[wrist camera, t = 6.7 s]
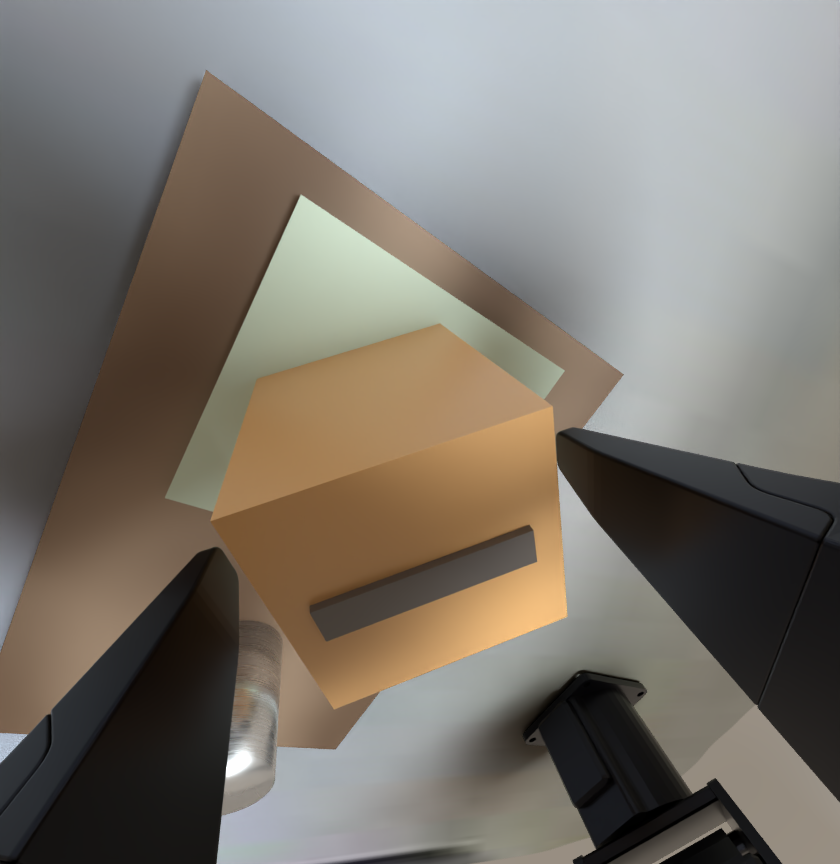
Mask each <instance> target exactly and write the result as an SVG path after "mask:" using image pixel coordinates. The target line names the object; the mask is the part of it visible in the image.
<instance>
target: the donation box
mask: <svg viewBox="0 0 840 864" xmlns="http://www.w3.org/2000/svg"><path fill="white" fill-rule="evenodd" d="M210 522H211V523H212V525H213V526H214V528H215V529H216V531H217V532H218V534H219V536H220V537H221V539H222V540H223V542H224V543H225V545H226V546H227V548H228V549H229V551H230V552H231V554H232V555H233V557H234V558H235V560H236V561H237V563H238V564H239V566H240V567H241V569H242V570H243V572H244V574H245V575H246V577H247V578H248V580H249V581H250V583H251V584H252V586H253V587H254V589H255V590H256V592H257V593H258V595H259V596H260V598H261V599H262V601H263V602H264V604H265V605H266V607H267V608H268V610H269V612H270V613H271V615H272V616H273V618H274V619H275V621H276V622H277V624H278V625H279V627H280V628H281V630H282V631H283V633H284V634H285V636H286V637H287V639H288V640H289V642H290V643H291V645H292V646H293V648H294V649H295V651H296V653H297V654H298V656H299V657H300V659H301V660H302V662H303V663H304V665H305V666H306V668H307V669H308V671H309V672H310V674H311V675H312V677H313V678H314V680H315V681H316V683H317V684H318V686H319V687H320V689H321V691H322V692H323V694H324V695H325V697H326V698H327V700H328V701H329V703H330V704H331V706H332V707H333V709H337V708H339V707H342V706H344V705H347V704H349V703H352V702H354V701H357V700H359V699H362V698H364V697H367V696H370V695H372V694H375V693H377V692H380V691H382V690H385V689H387V688H390V687H392V686H395V685H397V684H400V683H402V682H405V681H407V680H410V679H412V678H415V677H417V676H420V675H422V674H425V673H427V672H430V671H432V670H435V669H437V668H440V667H442V666H445V665H447V664H450V663H452V662H455V661H457V660H460V659H462V658H465V657H467V656H470V655H472V654H475V653H477V652H480V651H483V650H485V649H488V648H490V647H493V646H495V645H498V644H500V643H503V642H505V641H508V640H510V639H513V638H515V637H518V636H520V635H523V634H525V633H528V632H530V631H533V630H535V629H538V628H540V627H543V626H545V625H548V624H550V623H553V622H555V621H558V620H560V619H563V618H565V617H567V604H566V589H565V575H564V561H563V546H562V532H561V517H560V503H559V489H558V474H557V460H556V445H555V431H554V417H553V406H552V405H551V404H549V403H548V402H547V401H545V400H544V399H542V398H541V397H540V396H538V395H537V394H536V393H534V392H533V391H532V390H530V389H529V388H527V387H526V386H525V385H523V384H522V383H521V382H519V381H518V380H517V379H515V378H514V377H512V376H511V375H510V374H508V373H507V372H506V371H504V370H503V369H502V368H500V367H499V366H497V365H496V364H495V363H493V362H492V361H491V360H489V359H488V358H487V357H485V356H484V355H482V354H481V353H480V352H478V351H477V350H476V349H474V348H473V347H472V346H470V345H469V344H467V343H466V342H465V341H463V340H462V339H461V338H459V337H458V336H456V335H455V334H454V333H452V332H451V331H450V330H448V329H447V328H446V327H444V326H443V325H441V324H440V323H439V324H436V325H433V326H430V327H426V328H423V329H420V330H416V331H413V332H410V333H406V334H403V335H400V336H397V337H393V338H390V339H387V340H383V341H380V342H377V343H373V344H370V345H367V346H363V347H360V348H357V349H354V350H350V351H347V352H344V353H340V354H337V355H334V356H330V357H327V358H324V359H321V360H317V361H314V362H311V363H307V364H304V365H301V366H297V367H294V368H291V369H287V370H284V371H281V372H278V373H274V374H271V375H268V376H264V377H261V378H258V379H257V380H256V383H255V386H254V389H253V392H252V395H251V398H250V402H249V405H248V408H247V411H246V414H245V417H244V420H243V423H242V426H241V429H240V432H239V435H238V438H237V441H236V444H235V447H234V450H233V453H232V456H231V459H230V462H229V465H228V468H227V471H226V474H225V478H224V481H223V484H222V487H221V490H220V493H219V496H218V499H217V502H216V505H215V508H214V511H213V514H212V517H211V520H210Z"/></svg>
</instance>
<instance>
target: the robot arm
mask: <svg viewBox="0 0 840 864" xmlns="http://www.w3.org/2000/svg"><path fill="white" fill-rule="evenodd" d="M556 454H557V463H558V466H559V469H560V470H561V472H562V473H563V475H564V476H565V478H566V479H567V481H568V482H569V484H570V485H571V486H572V488H573V489H574V491H575V492H576V494H577V495H578V497H579V498H580V500H581V501H582V502H583V504H584V505H585V507H586V508H587V510H588V511H589V512H590V514H591V515H592V517H593V518H594V519H595V520H596V522H597V523H598V524H599V525H600V526H601V528H602V529H603V530H604V531H605V532H606V533H607V535H608V536H609V537H610V538H611V539H612V540H613V541H614V543H615V544H616V545H617V546H618V547H619V548H620V549H621V551H622V552H623V553H624V554H625V555H626V556H627V558H628V559H629V560H630V561H631V562H632V563H633V564H634V566H635V567H636V568H637V569H638V570H639V571H640V572H641V574H642V575H643V576H644V577H645V578H646V579H647V581H648V582H649V583H650V584H651V585H652V586H653V587H654V589H655V590H656V591H657V592H658V593H659V594H660V596H661V597H662V598H663V599H664V600H665V601H666V602H667V604H668V605H669V606H670V607H671V608H672V609H673V610H674V612H675V613H676V614H677V615H678V616H679V617H680V619H681V620H682V621H683V622H684V623H685V624H686V625H687V627H688V628H689V629H690V630H691V631H692V632H693V634H694V635H695V636H696V637H697V638H698V639H699V640H700V642H701V643H702V644H703V645H704V646H705V647H706V648H707V650H708V651H709V652H710V653H711V654H712V655H713V657H714V658H715V659H716V660H717V661H718V662H719V663H720V665H721V666H722V667H723V668H724V669H725V670H726V671H727V673H728V674H729V675H730V676H731V677H732V678H733V680H734V681H735V682H736V683H737V684H738V685H739V686H740V688H741V689H742V690H743V691H744V692H745V693H746V695H747V696H748V697H749V698H750V699H751V700H752V701H753V703H754V704H756V705H758V708H759V710H760V711H761V712H762V713H763V715H764V716H765V717H766V718H767V719H768V720H769V721H770V722H771V724H772V725H773V726H774V727H775V728H776V729H777V731H778V732H779V733H780V734H781V735H782V736H783V738H784V739H785V740H786V741H787V742H788V743H789V744H790V746H791V747H792V748H793V749H794V750H795V751H796V753H797V754H798V755H799V756H800V757H801V758H802V759H803V761H804V762H805V763H806V764H807V765H808V766H809V767H810V769H811V770H812V771H813V772H814V773H815V774H816V776H817V777H818V778H819V779H820V780H821V781H822V782H823V784H824V785H825V786H826V787H827V788H828V789H829V790H830V792H831V793H832V794H833V795H834V796H835V797H836V798H837V800H838V801H839V802H840V483H837V482H831V481H826V480H820V479H814V478H809V477H803V476H798V475H792V474H787V473H782V472H778V471H773V470H768V469H763V468H758V467H754V466H749V465H745V464H740V463H738V464H735V463H734V462H731V461H726V460H722V459H717V458H712V457H708V456H703V455H699V454H694V453H690V452H685V451H680V450H676V449H671V448H667V447H662V446H658V445H653V444H648V443H644V442H639V441H635V440H630V439H626V438H621V437H617V436H612V435H607V434H603V433H598V432H594V431H589V430H585V429H580V428H576V427H571V428H568V429H565V430H562V431H559V432H558V433H557V434H556ZM238 657H239V579H238V575H237V572H236V570H235V569H234V567H233V566H232V564H231V562H230V561H229V559H228V558H227V556H226V555H225V553H224V552H223V550H222V549H221V548H219V547H212V548H209V549H206V550H203V551H200V552H198V553H197V554H196V555H195V556H194V557H193V558H192V559H191V560H190V561H189V562H188V563H187V565H186V566H185V567H184V568H183V569H182V570H181V571H180V572H179V573H178V574H177V575H176V576H175V577H174V579H173V580H172V581H171V582H170V583H169V584H168V585H167V586H166V587H165V588H164V589H163V590H162V591H161V592H160V594H159V595H158V596H157V597H156V598H155V599H154V600H153V601H152V602H151V603H150V604H149V605H148V606H147V607H146V609H145V610H144V611H143V612H142V613H141V614H140V615H139V616H138V617H137V618H136V619H135V620H134V621H133V623H132V624H131V625H130V626H129V627H128V628H127V629H126V630H125V631H124V632H123V633H122V634H121V635H120V636H119V638H118V639H117V640H116V641H115V642H114V643H113V644H112V645H111V646H110V647H109V648H108V649H107V650H106V651H105V653H104V654H103V655H102V656H101V657H100V658H99V659H98V660H97V661H96V662H95V663H94V664H93V665H92V667H91V668H90V669H89V670H88V671H87V672H86V673H85V674H84V675H83V676H82V677H81V678H80V679H79V680H78V682H77V683H76V684H75V685H74V686H73V687H72V688H71V689H70V690H69V691H68V692H67V693H66V694H65V695H64V697H63V698H62V699H61V700H60V701H59V702H58V703H57V704H56V705H55V706H54V707H53V708H52V710H51V714H47V715H46V716H45V717H44V718H43V719H42V720H41V721H40V722H39V723H38V724H37V725H36V727H35V728H34V729H33V730H32V731H31V732H30V733H29V734H28V735H27V736H26V737H25V738H24V739H23V740H22V742H21V743H20V744H19V745H18V746H17V747H16V748H15V749H14V750H13V751H12V752H11V753H10V754H9V755H8V756H7V757H6V758H5V759H4V760H3V761H2V762H1V764H0V864H216V863H217V853H218V844H219V835H220V825H221V816H222V807H223V797H224V788H225V779H226V769H227V760H228V751H229V741H230V732H231V723H232V713H233V704H234V695H235V685H236V676H237V667H238ZM646 693H647V690H646V688H645V687H644V686H643V684H641V683H636V682H631V681H626V680H621V679H616V678H611V677H606V676H601V675H595V674H590V673H584V674H581V675H580V676H578V677H577V678H576V679H575V680H574V681H573V682H572V684H571V685H570V686H569V687H568V688H567V689H566V690H565V691H564V692H563V693H562V694H561V695H560V696H559V697H558V698H557V699H556V700H555V701H554V702H553V703H552V704H551V705H550V706H549V707H548V708H547V709H546V711H545V712H544V713H543V714H542V715H541V716H540V717H539V718H538V719H537V720H536V721H535V722H534V723H533V724H532V725H531V726H530V727H529V728H528V729H527V730H526V731H525V732H524V734H523V738H524V741H525V743H526V744H527V745H540V746H546V747H547V749H548V752H549V754H550V756H551V758H552V760H553V763H554V765H555V767H556V769H557V771H558V773H559V776H560V778H561V780H562V782H563V784H564V787H565V789H566V791H567V793H568V795H569V797H570V800H571V802H572V804H573V806H574V807H575V808H577V809H578V811H579V814H580V816H581V818H582V820H583V822H584V824H585V827H586V829H587V831H588V833H589V835H590V837H591V840H592V842H593V844H594V846H595V848H596V850H595V851H593V852H591V853H589V854H588V855H586V856H582V855H581V856H579V857H577V858H576V859H574V860H573V863H574V864H652V863H654V862H656V861H657V860H659V859H661V858H663V857H664V856H666V855H668V854H670V853H671V852H673V851H675V850H677V849H679V848H680V847H682V846H684V845H686V844H687V843H689V842H691V841H693V840H694V839H696V838H698V837H699V836H701V835H703V834H705V833H706V832H708V831H710V830H712V829H714V828H715V827H717V826H719V825H720V824H722V823H724V822H726V821H727V823H728V824H729V826H730V827H731V828H732V830H733V831H731V832H729V833H728V834H726V833H725V832H724V831H723V830H722V828H721V829H719V830H717V831H715V832H714V833H712V834H710V835H709V836H707V837H705V838H703V839H702V840H700V841H698V842H696V843H694V844H693V845H691V846H689V847H687V848H686V849H684V850H682V851H680V852H679V853H677V854H675V855H673V856H672V857H670V858H668V859H666V860H665V861H663V862H661V863H659V864H782V863H781V862H780V860H779V859H778V858H777V856H776V855H775V854H774V853H773V852H772V850H771V849H770V848H769V846H768V845H767V844H766V842H765V841H764V840H763V838H762V837H761V836H760V835H759V833H758V832H757V831H756V830H755V828H754V827H753V826H752V824H751V823H750V822H749V820H748V819H747V818H746V817H745V815H744V814H743V813H742V811H741V810H740V809H739V808H738V806H737V805H736V804H735V802H734V801H733V800H732V799H731V797H730V796H729V795H728V794H727V792H726V791H725V790H724V788H723V787H722V786H721V784H720V783H719V782H718V781H717V779H716V778H715V779H713V780H711V781H710V782H708V783H707V786H706V787H704V788H702V789H701V790H699V791H697V792H695V793H694V794H692V792H691V791H690V789H689V788H688V786H687V785H686V783H685V782H684V780H683V779H682V777H681V776H680V774H679V773H678V772H677V770H676V769H675V767H674V766H673V764H672V763H671V761H670V760H669V758H668V757H667V755H666V754H665V752H664V751H663V749H662V748H661V747H660V745H659V744H658V742H657V741H656V739H655V738H654V736H653V735H652V733H651V732H650V730H649V729H648V727H647V726H646V724H645V723H644V721H643V720H642V719H641V717H640V716H639V714H638V713H637V711H636V710H635V708H634V707H633V706H634V705H635V704H636V703H637V702H638V701H639V700H640V699H641V698H642V697H643V696H644V695H645V694H646Z"/></svg>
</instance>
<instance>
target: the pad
mask: <svg viewBox="0 0 840 864" xmlns="http://www.w3.org/2000/svg"><path fill="white" fill-rule="evenodd" d="M439 323H440V324H441V325H443V326H444V327H446V328H447V329H448V330H450V331H451V332H452V333H454V334H455V335H456V336H458V337H459V338H461V339H462V340H463V341H465V342H466V343H467V344H469V345H470V346H472V347H473V348H474V349H476V350H477V351H478V352H480V353H481V354H482V355H484V356H485V357H487V358H488V359H489V360H491V361H492V362H493V363H495V364H496V365H497V366H499V367H500V368H502V369H503V370H504V371H506V372H507V373H508V374H510V375H511V376H512V377H514V378H515V379H517V380H518V381H519V382H521V383H522V384H523V385H525V386H526V387H527V388H529V389H530V390H532V391H533V392H534V393H536V394H537V395H538V396H540V397H541V398H542V399H545V398H546V396H547V395H548V394H549V392H550V391H551V389H552V388H553V387H554V385H555V384H556V382H557V381H558V380H559V378H560V377H561V375H562V374H563V373H564V371H565V370H563V369H562V368H560V367H559V366H557V365H556V364H554V363H553V362H551V361H550V360H548V359H547V358H545V357H544V356H542V355H541V354H539V353H538V352H536V351H535V350H533V349H532V348H530V347H529V346H527V345H526V344H524V343H523V342H521V341H520V340H518V339H517V338H515V337H514V336H512V335H511V334H509V333H508V332H506V331H505V330H503V329H502V328H500V327H499V326H497V325H496V324H494V323H493V322H491V321H490V320H488V319H487V318H485V317H484V316H482V315H481V314H479V313H478V312H476V311H475V310H473V309H472V308H470V307H469V306H467V305H466V304H464V303H463V302H461V301H460V300H458V299H457V298H455V297H454V296H452V295H451V294H449V293H448V292H446V291H445V290H443V289H442V288H440V287H439V286H437V285H436V284H434V283H433V282H431V281H430V280H428V279H427V278H425V277H424V276H422V275H421V274H419V273H418V272H416V271H415V270H413V269H412V268H410V267H409V266H407V265H406V264H404V263H403V262H401V261H400V260H398V259H397V258H395V257H394V256H392V255H391V254H389V253H388V252H386V251H385V250H383V249H382V248H380V247H379V246H377V245H376V244H374V243H373V242H371V241H370V240H368V239H367V238H365V237H364V236H362V235H361V234H359V233H358V232H356V231H355V230H353V229H352V228H350V227H349V226H347V225H346V224H344V223H343V222H341V221H340V220H338V219H337V218H335V217H334V216H332V215H331V214H329V213H328V212H326V211H325V210H323V209H322V208H320V207H319V206H317V205H316V204H314V203H313V202H311V201H310V200H308V199H307V198H305V197H304V196H302V195H300V198H299V200H298V202H297V204H296V207H295V209H294V211H293V213H292V216H291V218H290V220H289V222H288V224H287V227H286V229H285V231H284V233H283V236H282V238H281V240H280V242H279V244H278V247H277V249H276V251H275V253H274V256H273V258H272V260H271V262H270V264H269V267H268V269H267V271H266V273H265V276H264V278H263V280H262V282H261V285H260V287H259V289H258V291H257V293H256V296H255V298H254V300H253V302H252V305H251V307H250V309H249V311H248V313H247V316H246V318H245V320H244V322H243V325H242V327H241V329H240V331H239V333H238V336H237V338H236V340H235V342H234V345H233V347H232V349H231V351H230V354H229V356H228V358H227V360H226V362H225V365H224V367H223V369H222V371H221V374H220V376H219V378H218V380H217V382H216V385H215V387H214V389H213V391H212V394H211V396H210V398H209V400H208V402H207V405H206V407H205V409H204V411H203V414H202V416H201V418H200V420H199V423H198V425H197V427H196V429H195V431H194V434H193V436H192V438H191V440H190V443H189V445H188V447H187V449H186V451H185V454H184V456H183V458H182V460H181V463H180V465H179V467H178V469H177V471H176V474H175V476H174V478H173V480H172V483H171V485H170V487H169V489H168V492H167V494H166V496H165V498H166V499H170V500H173V501H177V502H180V503H184V504H187V505H191V506H194V507H198V508H201V509H205V510H208V511H212V512H213V511H214V508H215V505H216V502H217V499H218V496H219V493H220V490H221V487H222V484H223V481H224V478H225V474H226V471H227V468H228V465H229V462H230V459H231V456H232V453H233V450H234V447H235V444H236V441H237V438H238V435H239V432H240V429H241V426H242V423H243V420H244V417H245V414H246V411H247V408H248V405H249V402H250V398H251V395H252V392H253V389H254V386H255V383H256V380H257V379H258V378H261V377H264V376H268V375H271V374H274V373H278V372H281V371H284V370H287V369H291V368H294V367H297V366H301V365H304V364H307V363H311V362H314V361H317V360H321V359H324V358H327V357H330V356H334V355H337V354H340V353H344V352H347V351H350V350H354V349H357V348H360V347H363V346H367V345H370V344H373V343H377V342H380V341H383V340H387V339H390V338H393V337H397V336H400V335H403V334H406V333H410V332H413V331H416V330H420V329H423V328H426V327H430V326H433V325H436V324H439Z"/></svg>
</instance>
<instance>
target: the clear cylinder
mask: <svg viewBox="0 0 840 864" xmlns="http://www.w3.org/2000/svg"><path fill="white" fill-rule="evenodd" d="M282 647H283V641H282V637H281V635H280V633H279V632H278V631H277V630H276V629H275V628H273V627H272V626H270V625H268V624H266V623H263V622H259V621H251V620H242V621H239V657H238V667H237V676H236V685H235V695H234V704H233V713H232V723H231V732H230V741H229V751H228V760H227V769H226V779H225V788H224V797H223V807H222V815H226V814H230V813H233V812H236V811H239V810H241V809H244V808H246V807H248V806H250V805H252V804H254V803H256V802H257V801H259V800H260V799H261V798H263V797H264V796H265V795H266V794H267V793H268V792H269V791H270V790H271V788H272V786H273V784H274V781H275V767H276V750H277V733H278V715H279V698H280V681H281V664H282Z"/></svg>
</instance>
